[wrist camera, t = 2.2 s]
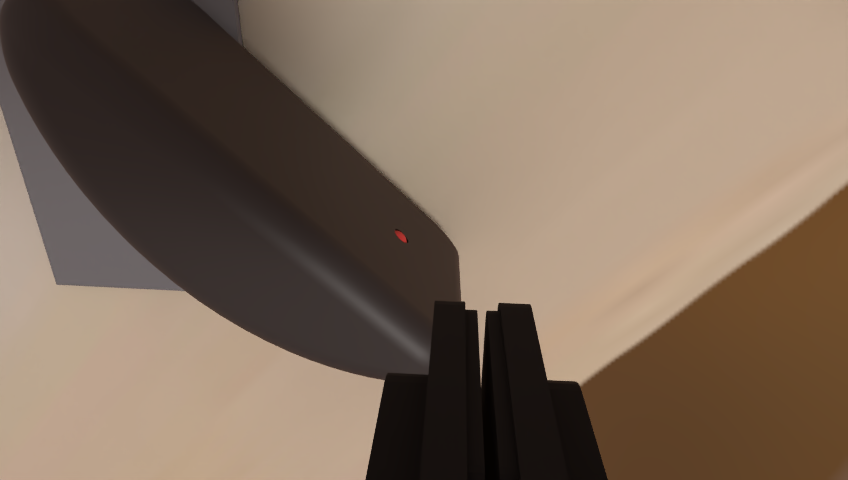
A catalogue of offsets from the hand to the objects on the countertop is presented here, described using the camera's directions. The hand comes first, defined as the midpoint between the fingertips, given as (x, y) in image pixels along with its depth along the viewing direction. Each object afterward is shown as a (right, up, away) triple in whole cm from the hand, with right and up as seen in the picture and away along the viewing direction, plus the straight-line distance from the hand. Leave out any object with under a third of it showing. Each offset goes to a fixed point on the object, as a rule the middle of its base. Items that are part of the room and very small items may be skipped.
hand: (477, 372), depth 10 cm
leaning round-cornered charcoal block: (-5, +7, +14) cm, 16 cm away
